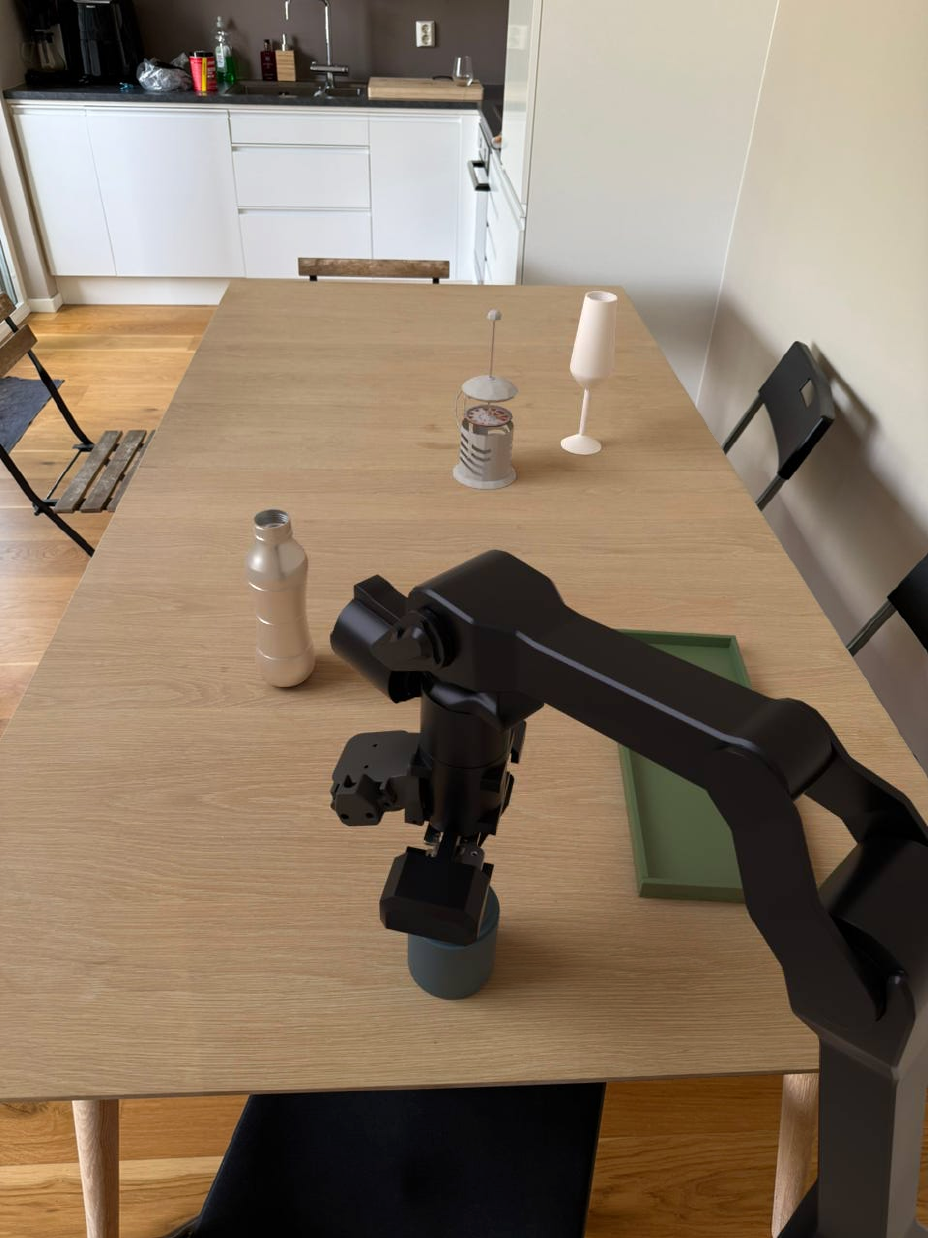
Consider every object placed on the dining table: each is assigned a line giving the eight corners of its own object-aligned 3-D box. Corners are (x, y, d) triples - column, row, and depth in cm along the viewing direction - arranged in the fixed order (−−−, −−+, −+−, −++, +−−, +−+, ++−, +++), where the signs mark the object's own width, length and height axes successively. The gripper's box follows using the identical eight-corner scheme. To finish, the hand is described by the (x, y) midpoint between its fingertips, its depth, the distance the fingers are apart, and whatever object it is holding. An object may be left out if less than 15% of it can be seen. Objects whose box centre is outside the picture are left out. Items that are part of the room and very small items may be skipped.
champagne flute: (555, 449, 144) (572, 299, 129) (567, 432, 149) (585, 286, 134) (595, 458, 142) (617, 306, 127) (606, 441, 147) (629, 293, 132)
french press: (480, 495, 131) (490, 327, 115) (432, 464, 138) (436, 302, 122) (529, 477, 136) (545, 313, 120) (481, 448, 143) (490, 290, 127)
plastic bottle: (248, 690, 96) (226, 532, 83) (269, 651, 101) (251, 497, 89) (306, 699, 95) (292, 541, 83) (324, 658, 100) (314, 505, 88)
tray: (813, 906, 77) (820, 893, 76) (638, 896, 77) (642, 883, 76) (731, 648, 105) (735, 635, 104) (603, 641, 105) (605, 627, 104)
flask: (507, 984, 70) (518, 897, 63) (422, 1011, 68) (425, 924, 61) (476, 911, 75) (484, 823, 68) (397, 933, 73) (396, 845, 66)
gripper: (385, 625, 65) (387, 772, 74) (289, 823, 50) (307, 973, 60) (536, 652, 63) (518, 798, 73) (482, 864, 49) (469, 1012, 58)
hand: (455, 884), depth 66 cm, fingers closed on flask cap, 4 cm apart
